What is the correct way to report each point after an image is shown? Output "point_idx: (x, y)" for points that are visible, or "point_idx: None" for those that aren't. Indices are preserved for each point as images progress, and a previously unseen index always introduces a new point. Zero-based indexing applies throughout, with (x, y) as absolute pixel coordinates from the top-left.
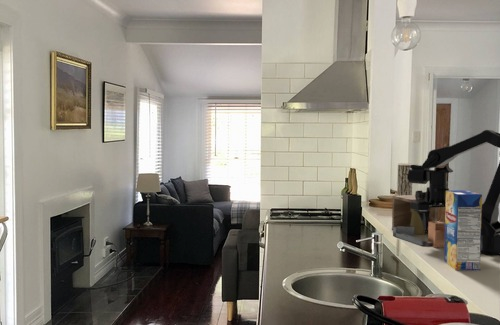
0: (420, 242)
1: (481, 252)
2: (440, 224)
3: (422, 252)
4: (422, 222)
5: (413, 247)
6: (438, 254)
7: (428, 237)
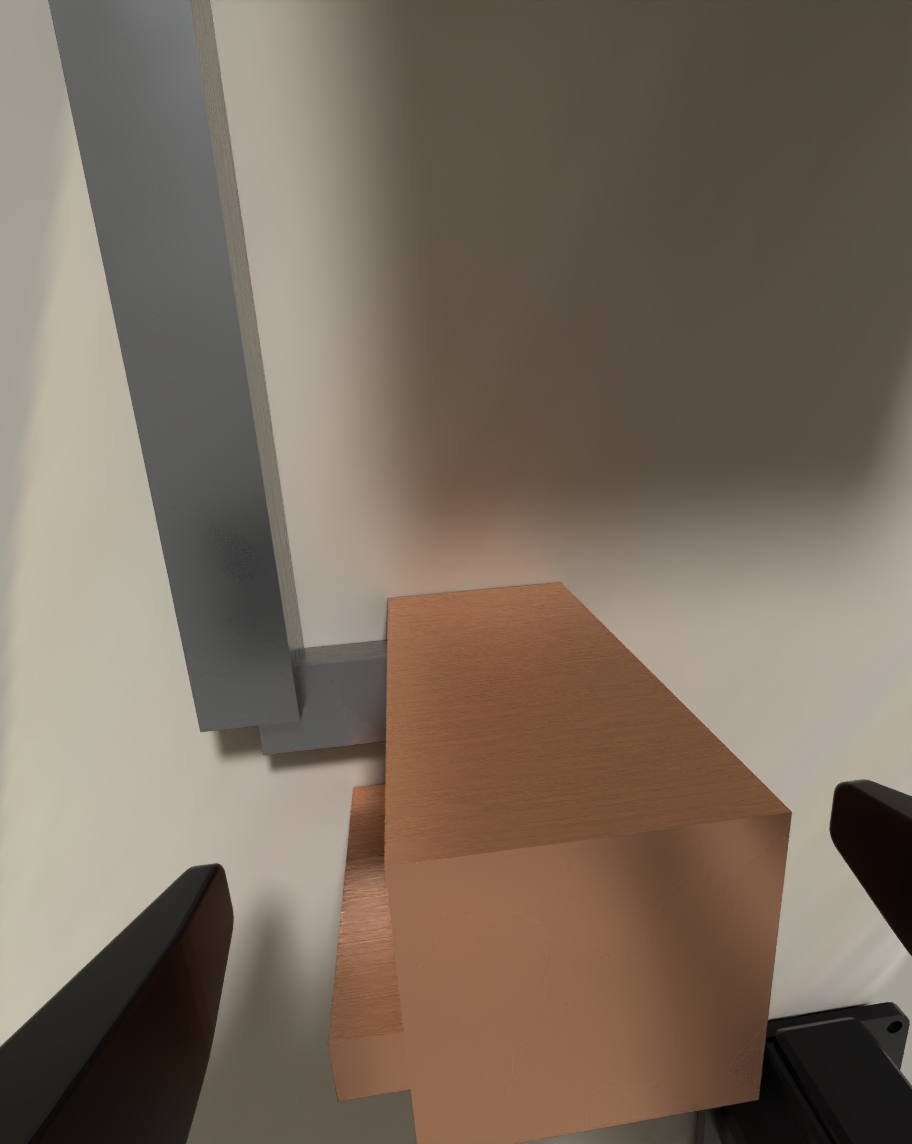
0: (201, 694)
1: None
2: (589, 1088)
3: None
4: (23, 1057)
5: (45, 778)
6: (215, 1118)
7: (388, 645)
